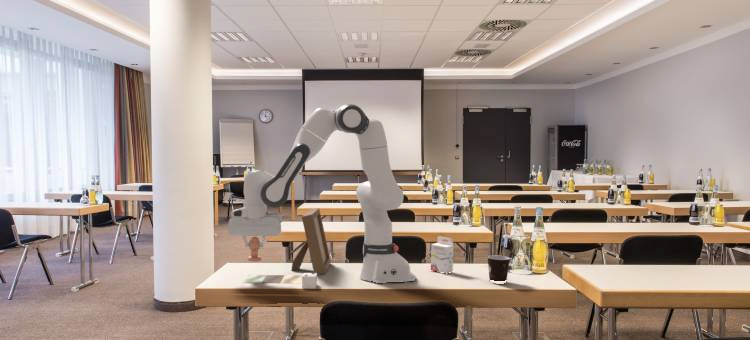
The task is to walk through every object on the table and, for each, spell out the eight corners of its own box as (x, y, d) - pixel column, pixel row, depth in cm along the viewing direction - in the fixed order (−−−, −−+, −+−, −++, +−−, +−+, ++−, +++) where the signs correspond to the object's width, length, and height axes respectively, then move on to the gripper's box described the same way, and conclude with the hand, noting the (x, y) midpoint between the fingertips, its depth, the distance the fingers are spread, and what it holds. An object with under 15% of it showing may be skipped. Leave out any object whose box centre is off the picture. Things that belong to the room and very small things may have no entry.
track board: (304, 276, 202) (304, 274, 202) (300, 285, 188) (300, 284, 188) (247, 275, 201) (247, 274, 201) (239, 284, 187) (239, 283, 187)
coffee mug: (488, 278, 204) (488, 254, 203) (510, 280, 201) (510, 256, 200) (484, 285, 193) (485, 260, 192) (507, 288, 190) (508, 262, 189)
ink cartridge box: (429, 271, 215) (430, 237, 214) (436, 269, 218) (437, 235, 218) (447, 274, 209) (447, 239, 208) (453, 272, 213) (454, 238, 212)
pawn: (262, 258, 197) (262, 235, 196) (259, 261, 192) (260, 238, 191) (249, 258, 197) (249, 235, 196) (246, 261, 191) (246, 237, 191)
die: (316, 286, 188) (316, 272, 188) (315, 289, 183) (315, 276, 183) (303, 286, 188) (303, 272, 188) (302, 289, 183) (302, 276, 183)
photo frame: (330, 263, 225) (331, 208, 224) (325, 275, 203) (325, 214, 202) (298, 262, 225) (298, 207, 224) (288, 274, 204) (289, 213, 203)
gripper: (283, 211, 197) (282, 245, 198) (230, 210, 196) (230, 245, 197) (280, 213, 191) (280, 249, 191) (226, 212, 190) (226, 248, 190)
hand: (254, 247), depth 194 cm, fingers closed on pawn, 4 cm apart
